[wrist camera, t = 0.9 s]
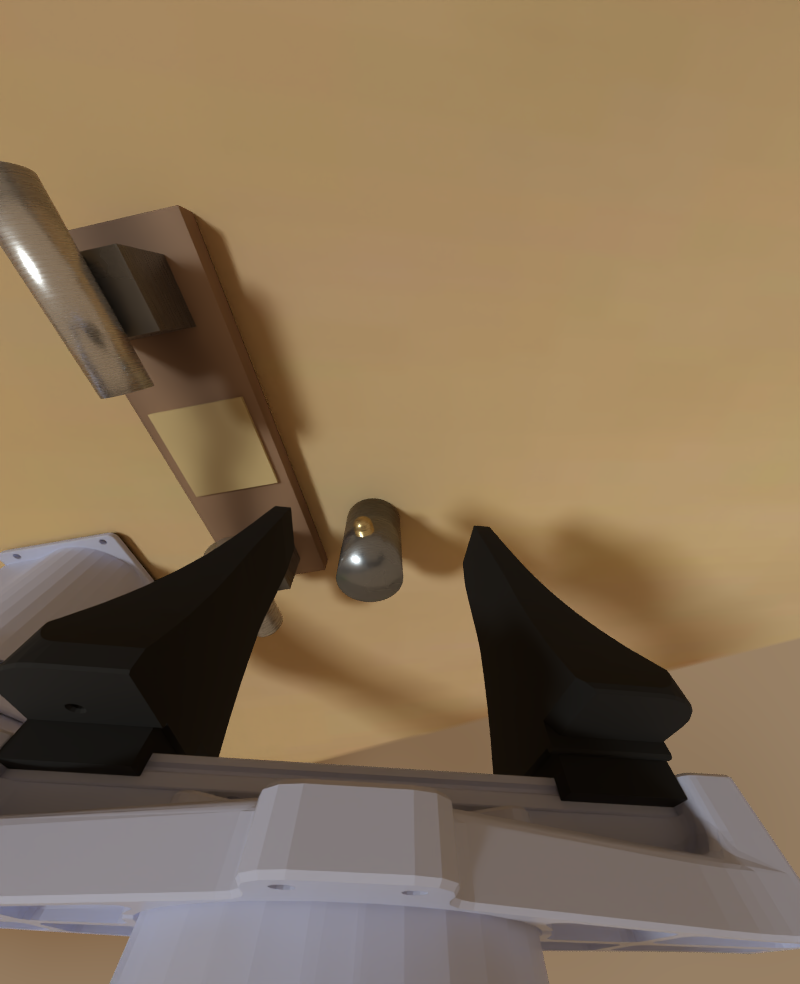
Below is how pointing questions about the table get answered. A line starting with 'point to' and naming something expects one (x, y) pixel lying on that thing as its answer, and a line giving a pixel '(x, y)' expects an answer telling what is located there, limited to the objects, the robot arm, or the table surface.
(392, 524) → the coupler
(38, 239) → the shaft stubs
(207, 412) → the shaft board
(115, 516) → the table surface
